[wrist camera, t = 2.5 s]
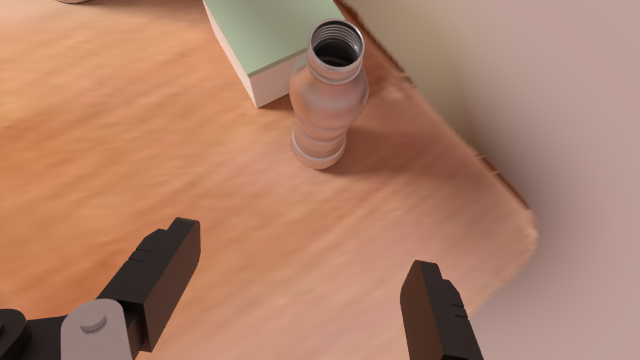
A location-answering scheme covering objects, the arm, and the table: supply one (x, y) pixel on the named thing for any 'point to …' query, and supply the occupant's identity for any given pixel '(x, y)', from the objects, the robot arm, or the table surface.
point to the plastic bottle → (327, 92)
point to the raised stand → (266, 39)
